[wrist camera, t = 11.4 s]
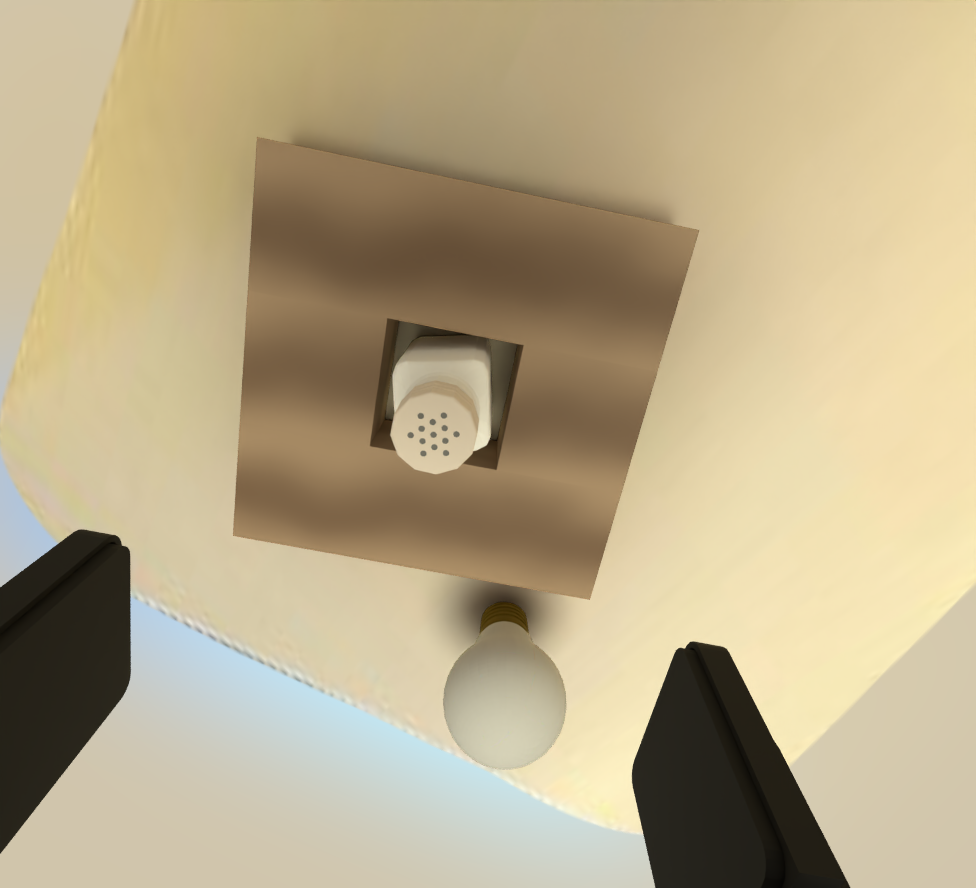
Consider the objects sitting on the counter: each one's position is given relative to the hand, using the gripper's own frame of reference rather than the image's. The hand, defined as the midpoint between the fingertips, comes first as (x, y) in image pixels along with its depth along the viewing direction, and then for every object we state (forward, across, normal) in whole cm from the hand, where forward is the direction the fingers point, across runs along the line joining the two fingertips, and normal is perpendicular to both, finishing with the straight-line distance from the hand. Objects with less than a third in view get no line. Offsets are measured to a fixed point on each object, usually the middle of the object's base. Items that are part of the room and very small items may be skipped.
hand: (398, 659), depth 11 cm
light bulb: (+22, -5, +14) cm, 27 cm away
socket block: (+22, +1, +1) cm, 22 cm away
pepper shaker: (+23, +1, +1) cm, 23 cm away
